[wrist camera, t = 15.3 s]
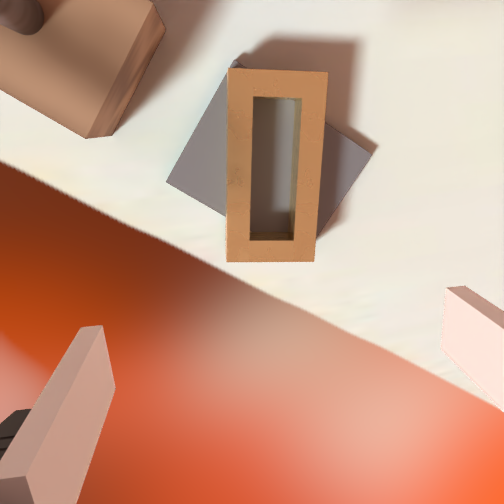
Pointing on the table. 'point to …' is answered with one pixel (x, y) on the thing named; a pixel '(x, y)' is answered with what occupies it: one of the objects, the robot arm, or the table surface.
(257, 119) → the rubber mat
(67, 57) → the walnut stand
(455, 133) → the table surface
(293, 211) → the golden brown rectangular frame
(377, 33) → the table surface
